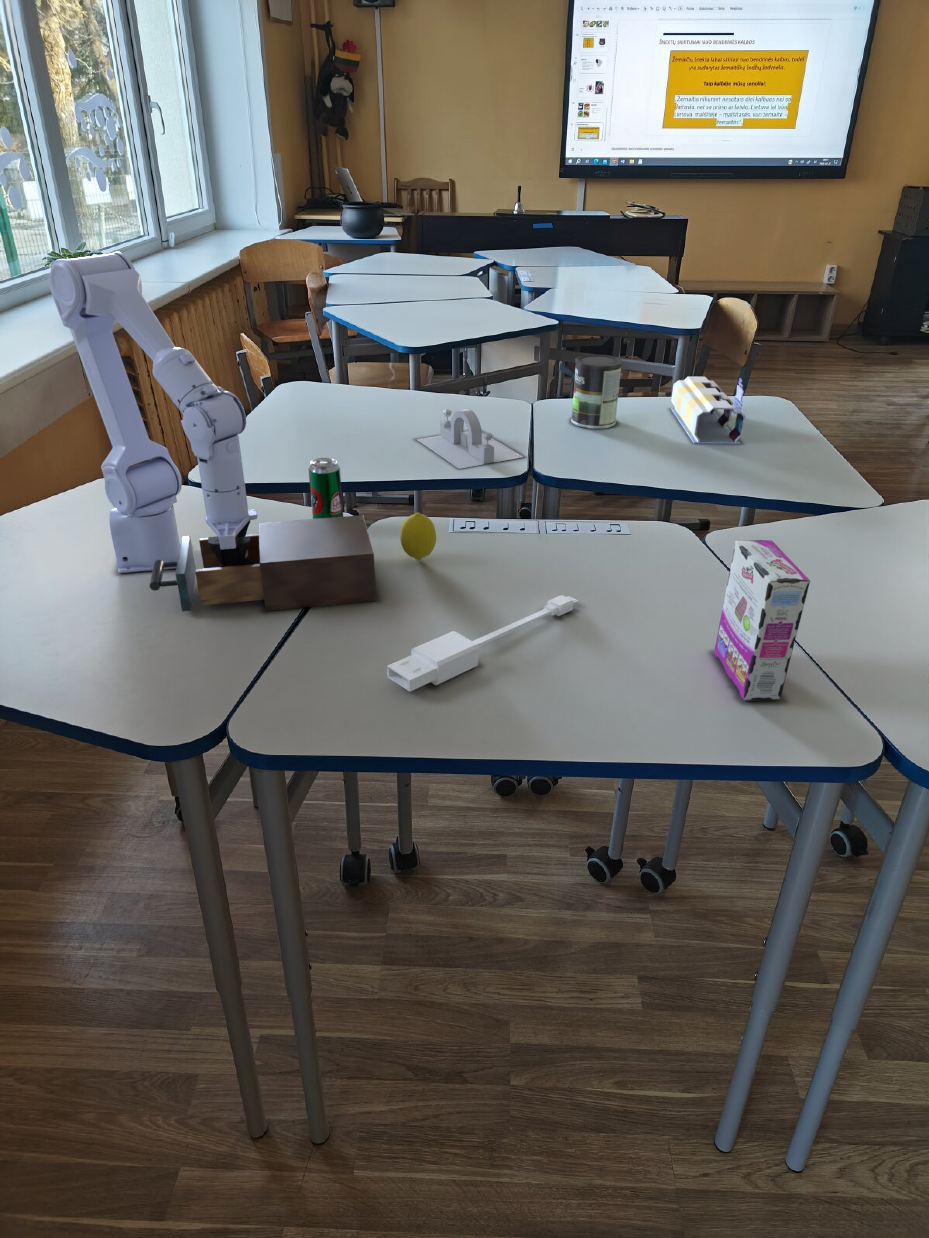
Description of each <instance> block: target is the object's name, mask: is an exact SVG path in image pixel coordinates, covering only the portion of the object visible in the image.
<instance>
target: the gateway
mask: <svg viewBox="0 0 929 1238" xmlns="http://www.w3.org/2000/svg"><path fill="white" fill-rule="evenodd" d="M442 412H443V415H444V417H446V419H444V420H440V421H439V436H441V437H442V438H444V439H445V440H447V441H448V442H450V443H452V444H453V445H457V444H460V445H462V446H464V447H465V448H468V454H469V455H470V456H471V457H473V458H475V459H476V460H478V461H479V462H481V463H482V464H483V465H489V464H493V463H494V464H495V463H496V462H495V446H494V445H492V444H491V443H489V441H491V440H492V438H493V437H494V435H493V434H492V433H491V432H489V431H488V432H483V431H482V426H481V423H480V420H479V417H478V416H477V414H476V413H475V411H474V410H472V409H469V408H468V409H459V410H456V411H454V413H453V411H452V410H451V409H449V408H446V409H443V410H442ZM452 413H453V414H452ZM451 415H452V416H451ZM449 417H451V419H449ZM464 424H465V425H466V427H467V430H466V431H467V432H468V434H467V433H465V429H464V426H465V425H464ZM483 439H484V440H485V441H486V443H484V444H483Z"/></svg>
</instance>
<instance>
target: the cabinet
mask: <svg viewBox="0 0 929 1238" xmlns="http://www.w3.org/2000/svg"><path fill="white" fill-rule="evenodd" d="M258 534H259V554H260V570H261V578H262V586H263V594H264V608H265V612H273V611H282V610H283V611H284V610H295V609H303V608H305V609H306V608H314V607H325V606H335V605H337V606H338V605H345V604H347V605H348V604H357V603H369V602H376V601H377V591H376V571H375V569H376V568H375V553H374V550H373V546H372V542H371V538H370V535H369V532H368V528H367V524H366V520H365V517H364V515H363V514H361V515H348V516H347V515H345V516H343V517H332V518H319V519H313V518H308V519H307V518H306V519H295V520H283V521H282V520H281V521H280V520H279V521H268V522H267V521H266V522H258Z"/></svg>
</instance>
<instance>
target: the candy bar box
mask: <svg viewBox="0 0 929 1238" xmlns="http://www.w3.org/2000/svg"><path fill="white" fill-rule="evenodd" d="M730 564H731V565H730V569H729V574H728V579H727V584H726V589H725V594H724V598H723V599H724V600H723V605H722V609H721V615H720V620H719V624H718V630H717V636H716V639H715V645H714V651H713V654H714V656H715V658H716V659H717V660H718V662H719V663H720V665H721V667H722V669H723V670H724V671H725V673H726V674H727V677H728V678H729V679H730V681H731V682H732V684H733V686H734V687H735V689H736V691H737V692H738V694H739V695H740V698H741V699H742V700H743V701H745V702H751V701H752V702H753V701H754V702H755V701H779V700H780V701H781V699H782V695H783V691H784V687H785V683H786V678H787V675H788V670H789V666H790V662H791V658H792V656H793V655H792V654H793V650H794V647H795V642H796V638H797V635H798V631H799V626H800V623H801V620H802V615H803V610H804V607H805V604H806V599H807V596H808V591H809V588H810V584H811V579H809V578H808V577H807V576H806V575H805V573H804V572H803V571H801V569H800V568H799V567H798V566H797V565H796V564H795V563H794V561H792V560H791V559H790V558H789V557H788V556H787V554H786V553H785V552H784V551H783V550H782V549H781V548H780V547H779V546H778V545H777V544H776V543H775V541H774V540H772V539H754V540H753V539H752V540H735V542H734V549H733V554H732V559H731V563H730Z"/></svg>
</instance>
